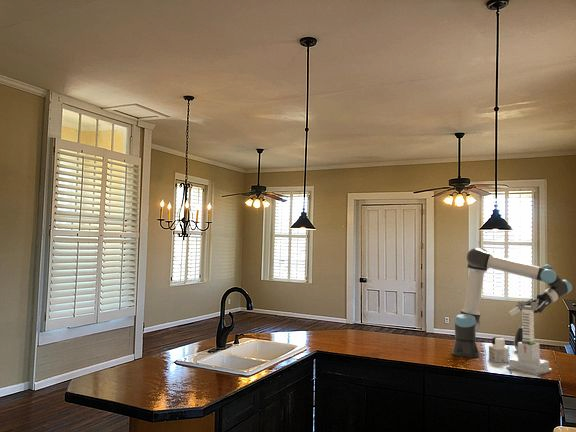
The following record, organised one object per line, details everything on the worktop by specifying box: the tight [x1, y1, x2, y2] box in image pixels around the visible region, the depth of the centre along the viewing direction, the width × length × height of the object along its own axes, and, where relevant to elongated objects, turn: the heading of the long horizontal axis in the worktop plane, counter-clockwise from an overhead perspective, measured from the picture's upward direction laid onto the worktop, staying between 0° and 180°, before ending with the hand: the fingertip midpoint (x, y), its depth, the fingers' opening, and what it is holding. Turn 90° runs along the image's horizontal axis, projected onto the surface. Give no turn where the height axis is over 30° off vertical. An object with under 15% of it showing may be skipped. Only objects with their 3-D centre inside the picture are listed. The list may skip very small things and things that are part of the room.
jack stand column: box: [517, 300, 538, 345], centre depth 245 cm, size 8×5×30 cm, turn 35°
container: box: [488, 336, 510, 363], centre depth 263 cm, size 8×8×13 cm
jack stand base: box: [505, 341, 553, 376], centre depth 245 cm, size 16×16×15 cm
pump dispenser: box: [513, 326, 523, 352], centre depth 286 cm, size 10×10×15 cm
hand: (517, 315), depth 259 cm, fingers open, 13 cm apart
